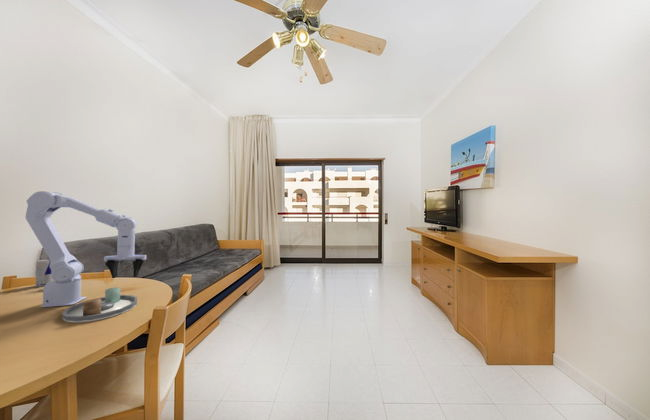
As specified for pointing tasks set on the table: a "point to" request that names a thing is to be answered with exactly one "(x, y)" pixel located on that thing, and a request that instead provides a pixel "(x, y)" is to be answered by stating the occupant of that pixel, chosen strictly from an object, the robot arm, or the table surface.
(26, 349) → the table surface
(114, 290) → the mint green cylinder
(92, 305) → the walnut bead
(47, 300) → the robot arm
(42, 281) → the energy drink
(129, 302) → the groove tray
